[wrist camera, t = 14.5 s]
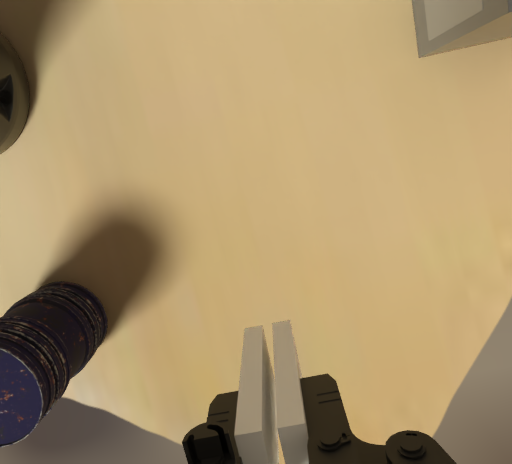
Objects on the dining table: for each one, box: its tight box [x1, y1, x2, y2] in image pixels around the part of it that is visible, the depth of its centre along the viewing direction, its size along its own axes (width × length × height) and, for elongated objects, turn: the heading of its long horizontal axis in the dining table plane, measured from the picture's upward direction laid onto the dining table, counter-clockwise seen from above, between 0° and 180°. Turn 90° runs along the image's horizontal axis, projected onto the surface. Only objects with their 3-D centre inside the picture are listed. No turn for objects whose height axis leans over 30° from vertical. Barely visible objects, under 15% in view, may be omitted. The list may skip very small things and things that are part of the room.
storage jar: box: [0, 282, 107, 447], centre depth 42 cm, size 10×10×15 cm
